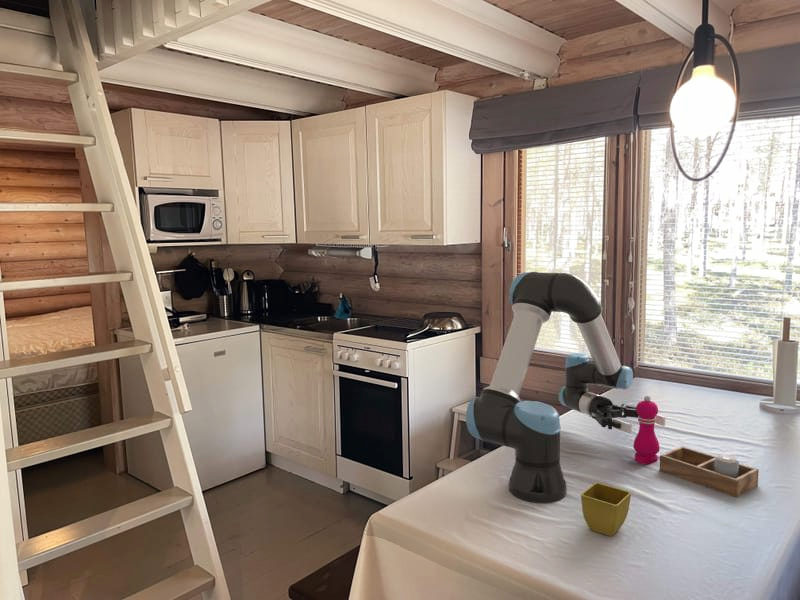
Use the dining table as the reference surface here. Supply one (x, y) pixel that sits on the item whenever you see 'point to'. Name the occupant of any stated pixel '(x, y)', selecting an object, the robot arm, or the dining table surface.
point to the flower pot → (605, 508)
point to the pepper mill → (646, 433)
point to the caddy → (707, 471)
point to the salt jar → (727, 466)
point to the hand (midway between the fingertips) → (647, 425)
